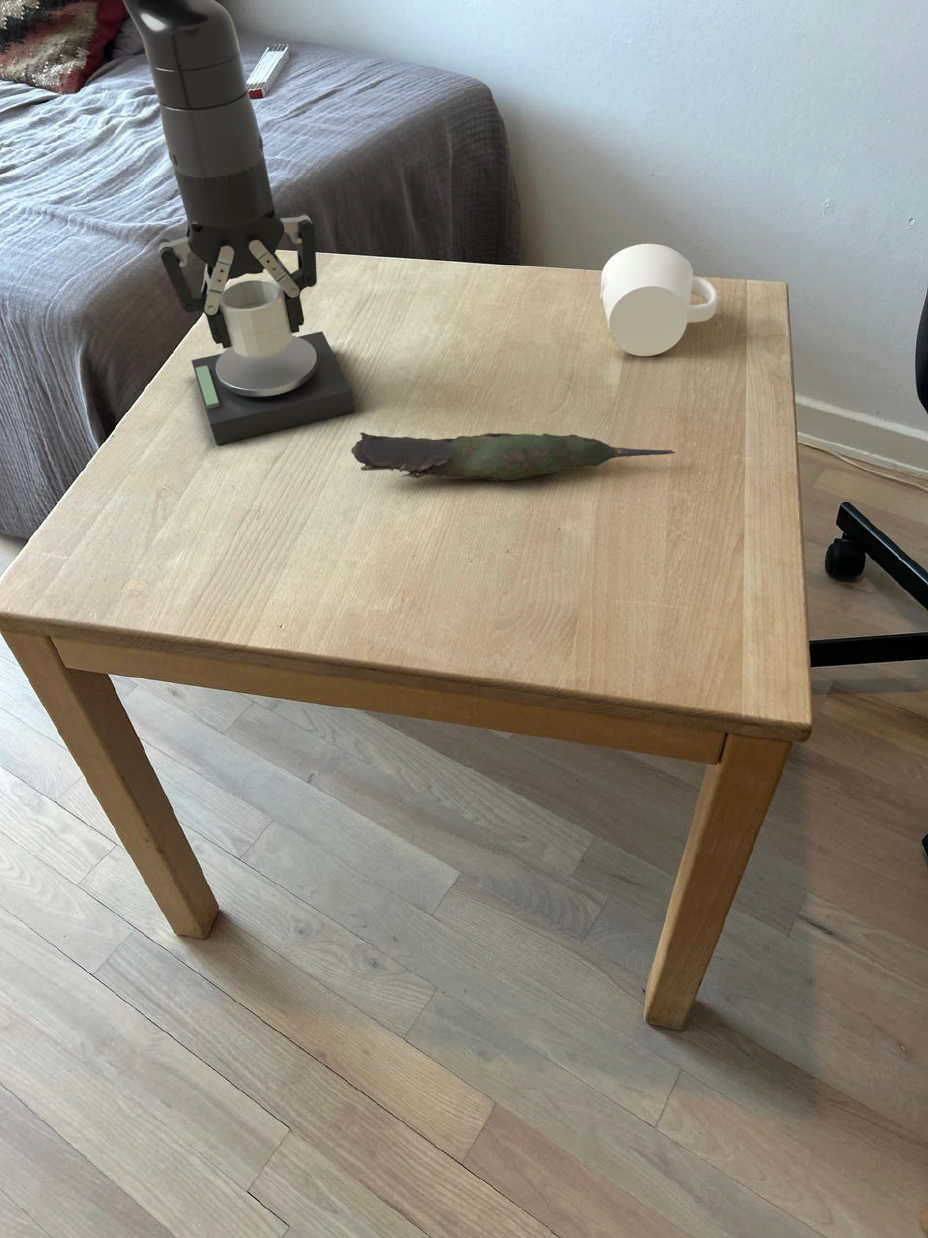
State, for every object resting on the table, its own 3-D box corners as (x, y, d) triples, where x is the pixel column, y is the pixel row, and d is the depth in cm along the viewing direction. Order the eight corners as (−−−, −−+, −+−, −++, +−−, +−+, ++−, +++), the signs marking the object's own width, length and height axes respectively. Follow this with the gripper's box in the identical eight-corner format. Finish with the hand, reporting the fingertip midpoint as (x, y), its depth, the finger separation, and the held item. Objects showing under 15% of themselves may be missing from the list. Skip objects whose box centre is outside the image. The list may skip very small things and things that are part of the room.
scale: (216, 445, 85) (208, 419, 83) (197, 380, 93) (189, 355, 90) (355, 411, 88) (351, 386, 86) (325, 351, 95) (321, 326, 93)
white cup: (236, 366, 83) (223, 316, 79) (225, 335, 87) (212, 285, 83) (299, 352, 85) (289, 302, 81) (285, 321, 88) (275, 272, 84)
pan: (227, 406, 84) (225, 399, 83) (209, 353, 90) (207, 346, 89) (328, 382, 86) (327, 375, 85) (304, 332, 92) (303, 325, 91)
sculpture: (358, 462, 83) (351, 418, 79) (667, 449, 82) (674, 404, 78) (355, 496, 79) (348, 452, 76) (676, 482, 79) (684, 437, 75)
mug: (597, 355, 93) (603, 284, 87) (598, 309, 99) (604, 240, 93) (713, 358, 92) (727, 286, 86) (706, 312, 98) (719, 241, 92)
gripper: (292, 123, 76) (322, 302, 89) (124, 152, 74) (180, 333, 86) (312, 155, 72) (341, 339, 84) (134, 187, 69) (191, 373, 81)
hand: (259, 335), depth 85 cm, fingers closed on white cup, 6 cm apart
